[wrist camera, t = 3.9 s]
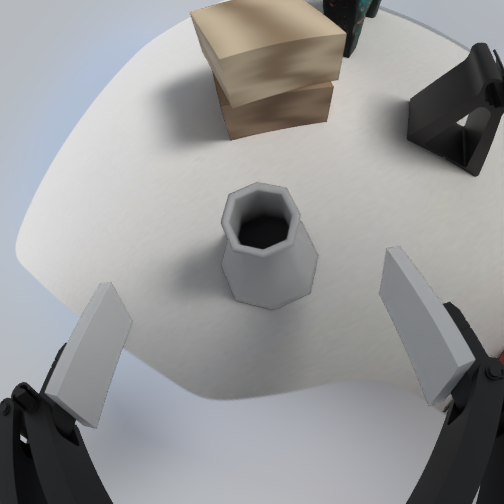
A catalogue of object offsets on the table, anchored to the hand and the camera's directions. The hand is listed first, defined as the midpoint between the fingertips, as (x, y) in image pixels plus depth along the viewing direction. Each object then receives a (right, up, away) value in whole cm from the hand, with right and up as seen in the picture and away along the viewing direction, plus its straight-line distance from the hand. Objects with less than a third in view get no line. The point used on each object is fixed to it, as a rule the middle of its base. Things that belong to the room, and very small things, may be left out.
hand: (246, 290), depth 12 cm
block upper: (+1, +18, +7) cm, 19 cm away
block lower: (+2, +17, +12) cm, 21 cm away
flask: (+2, +1, +8) cm, 9 cm away
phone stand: (+20, +14, +9) cm, 26 cm away
